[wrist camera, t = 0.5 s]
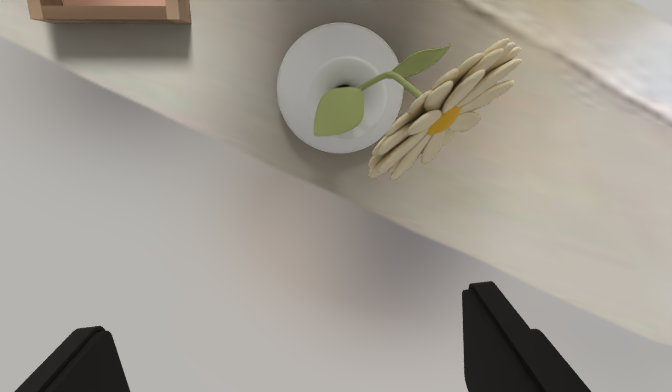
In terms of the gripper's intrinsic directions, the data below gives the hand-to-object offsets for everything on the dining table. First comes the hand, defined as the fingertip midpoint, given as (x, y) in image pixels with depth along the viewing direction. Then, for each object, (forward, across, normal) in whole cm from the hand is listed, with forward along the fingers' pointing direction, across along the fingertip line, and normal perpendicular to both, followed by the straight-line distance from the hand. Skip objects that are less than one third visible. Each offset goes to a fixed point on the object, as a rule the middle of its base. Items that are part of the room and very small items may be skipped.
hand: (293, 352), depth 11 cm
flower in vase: (+31, -4, -5) cm, 31 cm away
